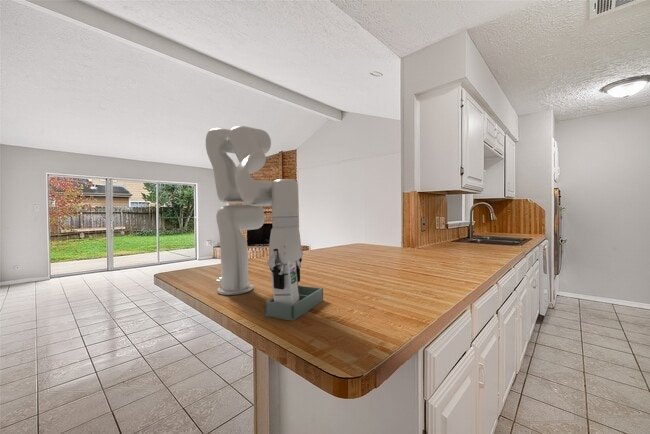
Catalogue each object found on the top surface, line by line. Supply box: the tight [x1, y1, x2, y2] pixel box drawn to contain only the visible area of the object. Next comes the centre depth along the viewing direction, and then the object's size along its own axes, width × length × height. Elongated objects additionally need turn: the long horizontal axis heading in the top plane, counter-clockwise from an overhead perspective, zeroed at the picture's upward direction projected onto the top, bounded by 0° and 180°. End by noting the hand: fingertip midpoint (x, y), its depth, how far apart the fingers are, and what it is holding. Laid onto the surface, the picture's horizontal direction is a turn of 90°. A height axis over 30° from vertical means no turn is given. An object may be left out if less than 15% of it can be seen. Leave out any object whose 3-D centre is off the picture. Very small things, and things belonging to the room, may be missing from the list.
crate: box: [264, 284, 324, 322], centre depth 84 cm, size 18×9×4 cm, turn 154°
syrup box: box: [270, 261, 300, 305], centre depth 80 cm, size 6×6×14 cm
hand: (287, 284), depth 80 cm, fingers open, 7 cm apart
